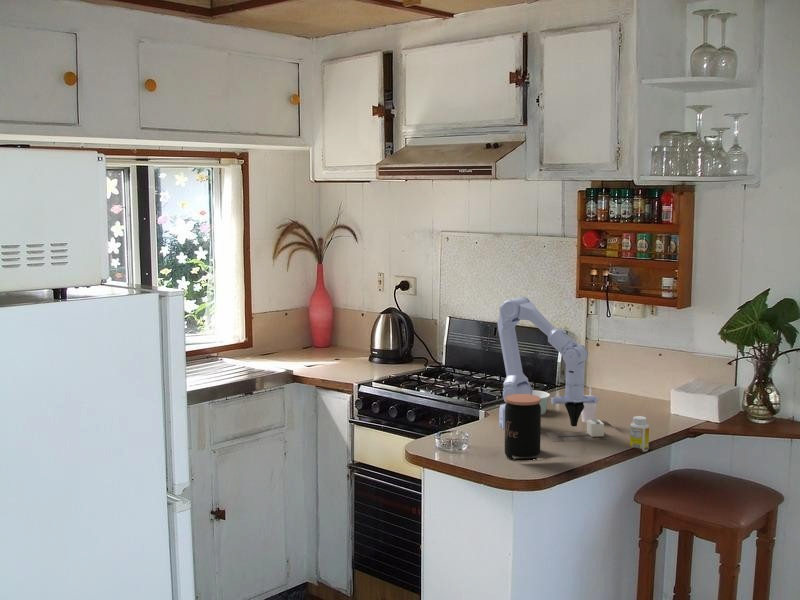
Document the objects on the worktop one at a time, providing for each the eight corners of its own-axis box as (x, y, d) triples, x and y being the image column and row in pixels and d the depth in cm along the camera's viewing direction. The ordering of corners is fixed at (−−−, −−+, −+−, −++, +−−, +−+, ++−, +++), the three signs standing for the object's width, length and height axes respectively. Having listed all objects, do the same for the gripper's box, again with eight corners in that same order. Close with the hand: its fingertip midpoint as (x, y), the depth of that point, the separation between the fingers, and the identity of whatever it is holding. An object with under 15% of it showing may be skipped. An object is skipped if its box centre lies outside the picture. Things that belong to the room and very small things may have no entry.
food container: (547, 407, 333) (547, 390, 332) (552, 416, 321) (552, 398, 320) (514, 407, 333) (514, 390, 332) (517, 416, 321) (517, 398, 320)
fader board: (553, 446, 285) (553, 441, 285) (544, 437, 295) (545, 432, 295) (612, 444, 287) (612, 439, 287) (602, 435, 297) (602, 430, 297)
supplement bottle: (644, 447, 284) (645, 414, 283) (651, 452, 278) (652, 419, 277) (627, 447, 283) (628, 415, 282) (633, 453, 278) (634, 420, 277)
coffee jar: (501, 451, 280) (502, 394, 278) (535, 450, 281) (536, 393, 278) (508, 462, 270) (508, 402, 267) (543, 461, 270) (544, 401, 268)
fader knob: (591, 436, 289) (591, 422, 288) (586, 432, 294) (587, 418, 293) (603, 436, 289) (604, 422, 289) (598, 431, 294) (599, 417, 294)
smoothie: (597, 428, 305) (598, 387, 303) (578, 427, 306) (579, 386, 304) (597, 423, 311) (598, 383, 309) (578, 422, 313) (579, 382, 311)
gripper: (555, 387, 284) (554, 429, 286) (601, 386, 285) (599, 428, 287) (549, 382, 291) (548, 423, 293) (594, 380, 292) (592, 422, 294)
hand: (573, 425), depth 290 cm, fingers closed
